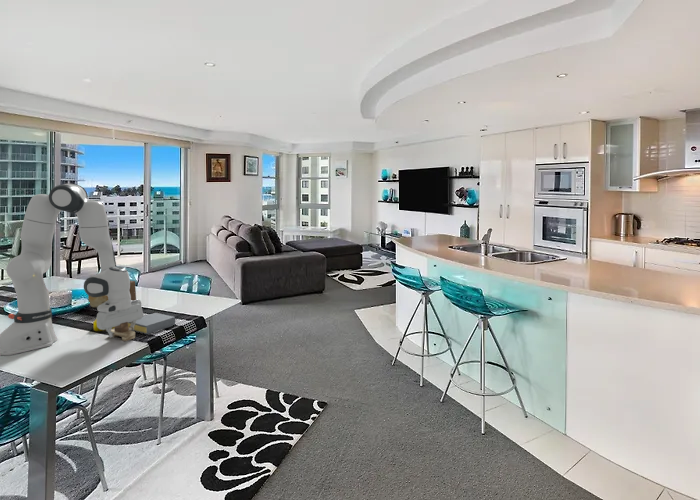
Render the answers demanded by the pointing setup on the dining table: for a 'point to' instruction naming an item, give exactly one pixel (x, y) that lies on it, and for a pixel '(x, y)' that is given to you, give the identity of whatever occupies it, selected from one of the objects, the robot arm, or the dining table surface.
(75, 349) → the dining table surface
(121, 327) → the brown box
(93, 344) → the dining table surface
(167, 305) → the dining table surface
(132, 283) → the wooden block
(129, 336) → the tan stepped block
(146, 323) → the dock
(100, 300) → the rough brown rock
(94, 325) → the element tile
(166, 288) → the dining table surface
